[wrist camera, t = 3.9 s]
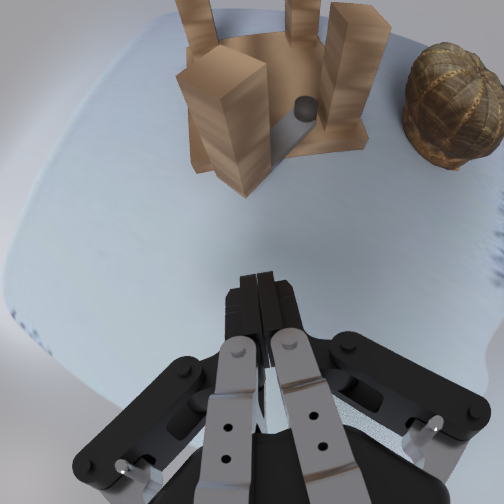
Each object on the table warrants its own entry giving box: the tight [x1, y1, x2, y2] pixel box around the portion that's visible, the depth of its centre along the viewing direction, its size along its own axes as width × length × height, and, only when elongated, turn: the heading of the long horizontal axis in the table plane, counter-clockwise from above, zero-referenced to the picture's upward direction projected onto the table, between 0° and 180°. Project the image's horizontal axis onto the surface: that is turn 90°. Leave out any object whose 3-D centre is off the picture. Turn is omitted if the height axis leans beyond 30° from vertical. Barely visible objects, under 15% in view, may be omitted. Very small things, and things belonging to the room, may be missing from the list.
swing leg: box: [176, 44, 318, 199], centre depth 17 cm, size 10×3×12 cm, turn 139°
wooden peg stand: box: [175, 0, 392, 174], centre depth 20 cm, size 16×18×14 cm
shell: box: [403, 42, 504, 170], centre depth 19 cm, size 11×11×12 cm
